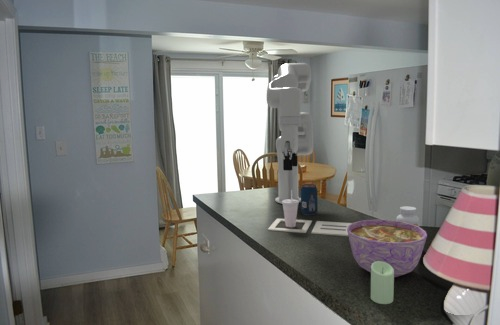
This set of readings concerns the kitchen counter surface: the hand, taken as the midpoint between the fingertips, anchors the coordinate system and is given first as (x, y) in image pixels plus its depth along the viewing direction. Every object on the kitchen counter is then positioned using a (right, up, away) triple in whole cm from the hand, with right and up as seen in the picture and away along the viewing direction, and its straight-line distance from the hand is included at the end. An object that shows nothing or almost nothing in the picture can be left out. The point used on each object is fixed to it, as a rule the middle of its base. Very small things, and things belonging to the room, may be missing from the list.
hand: (290, 168), depth 143 cm
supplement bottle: (+34, -25, -22) cm, 48 cm away
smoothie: (0, -22, +3) cm, 22 cm away
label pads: (+8, -22, +1) cm, 23 cm away
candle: (+15, -30, -54) cm, 63 cm away
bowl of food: (+21, -28, -39) cm, 52 cm away
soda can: (+10, -20, +20) cm, 30 cm away
